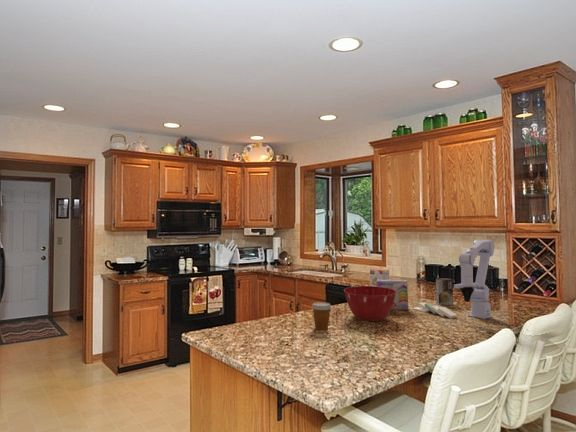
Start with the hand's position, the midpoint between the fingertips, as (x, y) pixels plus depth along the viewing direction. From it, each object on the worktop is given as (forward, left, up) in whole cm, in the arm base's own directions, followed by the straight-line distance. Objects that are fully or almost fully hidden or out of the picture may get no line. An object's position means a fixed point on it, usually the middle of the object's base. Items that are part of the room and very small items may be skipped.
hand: (467, 301), depth 213 cm
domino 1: (+26, -1, -10) cm, 28 cm away
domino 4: (+13, 0, -10) cm, 16 cm away
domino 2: (+24, -2, -9) cm, 26 cm away
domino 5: (+8, 0, -10) cm, 13 cm away
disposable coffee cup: (+31, +74, -11) cm, 81 cm away
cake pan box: (+43, +11, -11) cm, 46 cm away
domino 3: (+19, -1, -10) cm, 21 cm away
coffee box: (+35, -29, -11) cm, 47 cm away
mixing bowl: (+33, +39, -11) cm, 52 cm away
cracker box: (+68, -5, -11) cm, 69 cm away
